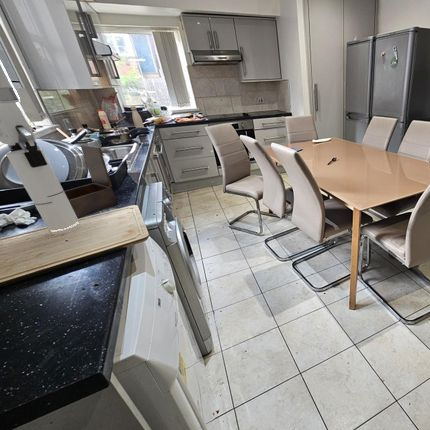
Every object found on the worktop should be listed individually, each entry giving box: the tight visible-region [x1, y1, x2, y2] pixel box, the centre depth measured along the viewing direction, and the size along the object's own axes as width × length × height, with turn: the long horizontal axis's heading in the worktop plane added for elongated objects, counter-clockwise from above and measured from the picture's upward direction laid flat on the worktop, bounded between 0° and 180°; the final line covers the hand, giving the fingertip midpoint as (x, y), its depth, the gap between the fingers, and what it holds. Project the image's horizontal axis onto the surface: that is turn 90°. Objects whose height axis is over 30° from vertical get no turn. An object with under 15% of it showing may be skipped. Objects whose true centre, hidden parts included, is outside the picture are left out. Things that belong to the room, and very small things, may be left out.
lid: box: [80, 144, 113, 188], centre depth 101 cm, size 14×13×5 cm
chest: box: [64, 182, 119, 219], centre depth 99 cm, size 13×13×7 cm
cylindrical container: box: [5, 147, 82, 236], centre depth 78 cm, size 7×7×25 cm
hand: (32, 164), depth 74 cm, fingers open, 9 cm apart
